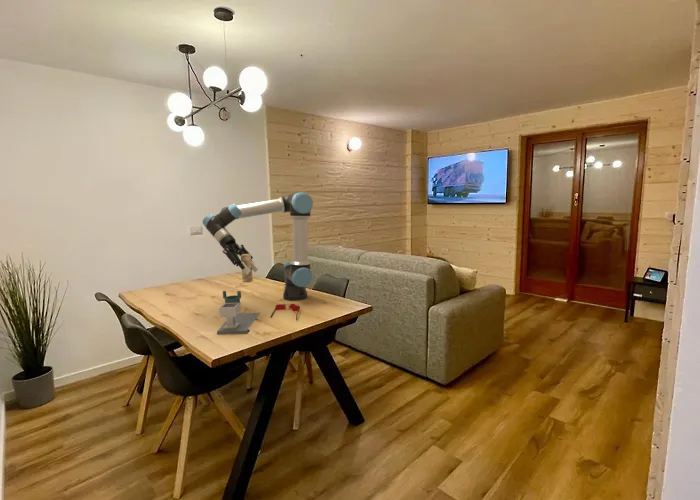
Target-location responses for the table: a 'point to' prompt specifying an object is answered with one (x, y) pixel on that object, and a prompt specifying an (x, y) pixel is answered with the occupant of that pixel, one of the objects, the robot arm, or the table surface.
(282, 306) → the glasses
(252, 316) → the board
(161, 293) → the table surface
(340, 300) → the table surface
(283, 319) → the table surface
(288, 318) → the table surface
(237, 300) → the bracket
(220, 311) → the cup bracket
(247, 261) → the light brown tall block
